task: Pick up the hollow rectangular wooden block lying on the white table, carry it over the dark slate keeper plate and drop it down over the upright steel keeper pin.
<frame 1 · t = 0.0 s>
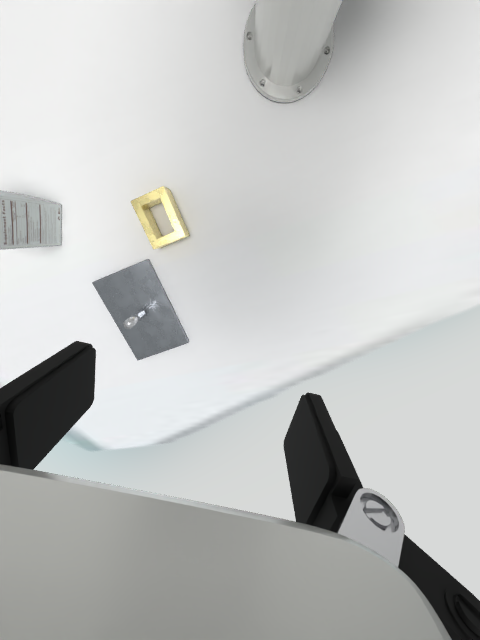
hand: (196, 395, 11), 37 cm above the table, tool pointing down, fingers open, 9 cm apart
supplement box: (43, 220, 44), on the table
keeper plate: (143, 312, 49), on the table
hollow rectangular wooden block: (165, 220, 43), on the table
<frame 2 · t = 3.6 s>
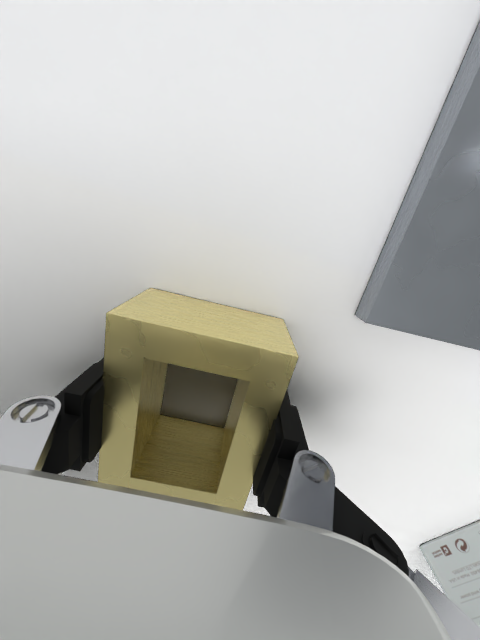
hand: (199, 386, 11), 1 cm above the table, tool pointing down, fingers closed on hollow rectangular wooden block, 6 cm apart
hollow rectangular wooden block: (201, 378, 12), on the table, touching gripper
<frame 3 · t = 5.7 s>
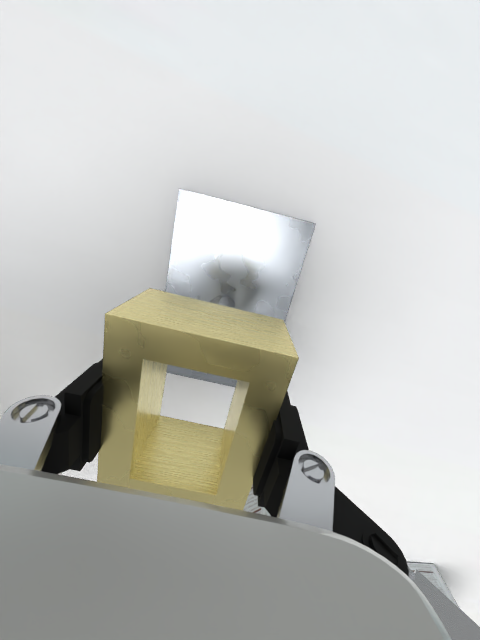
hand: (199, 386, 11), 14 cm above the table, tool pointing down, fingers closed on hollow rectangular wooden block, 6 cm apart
supplement box: (257, 470, 33), on the table
keeper plate: (227, 302, 25), on the table
supplement box 2: (396, 576, 40), on the table
hollow rectangular wooden block: (201, 379, 12), point 13 cm above the table, touching gripper
when the fingers open (3 cm above the table, at t = 8.0 s): hollow rectangular wooden block drops 2 cm, resting on keeper plate.
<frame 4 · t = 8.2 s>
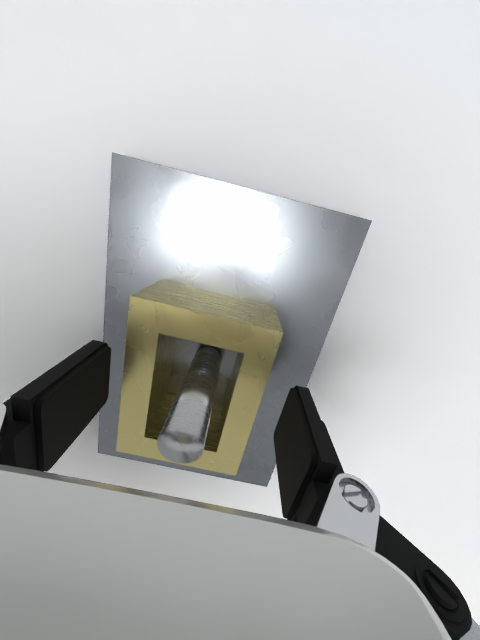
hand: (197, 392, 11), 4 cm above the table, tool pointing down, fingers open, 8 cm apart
keeper plate: (210, 351, 15), on the table
hollow rectangular wooden block: (204, 359, 14), point 1 cm above the table, touching keeper plate
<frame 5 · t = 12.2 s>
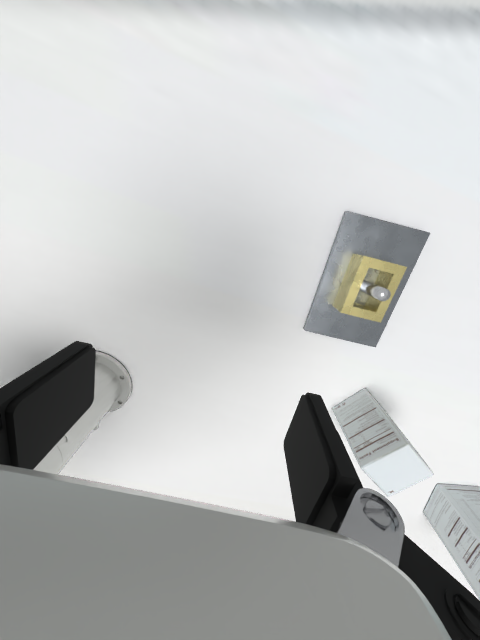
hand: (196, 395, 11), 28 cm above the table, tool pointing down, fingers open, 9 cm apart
supplement box: (358, 408, 45), on the table
keeper plate: (359, 284, 37), on the table
supplement box 2: (449, 498, 52), on the table
hollow rectangular wooden block: (361, 285, 36), point 1 cm above the table, touching keeper plate
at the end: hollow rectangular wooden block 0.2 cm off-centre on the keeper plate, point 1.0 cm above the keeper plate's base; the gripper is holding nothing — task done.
